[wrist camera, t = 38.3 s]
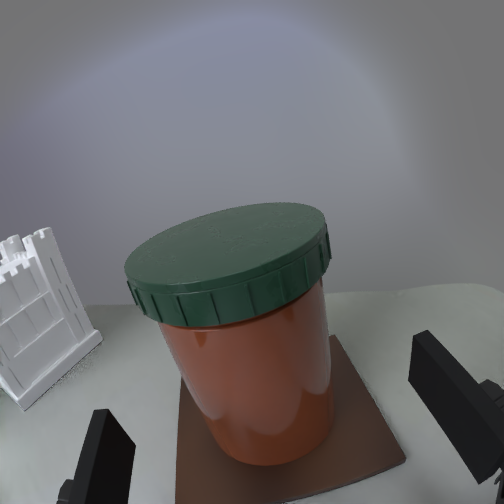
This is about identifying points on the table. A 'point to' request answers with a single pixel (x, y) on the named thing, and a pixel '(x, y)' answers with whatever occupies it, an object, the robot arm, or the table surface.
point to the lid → (229, 264)
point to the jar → (262, 379)
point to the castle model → (38, 318)
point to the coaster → (295, 472)
